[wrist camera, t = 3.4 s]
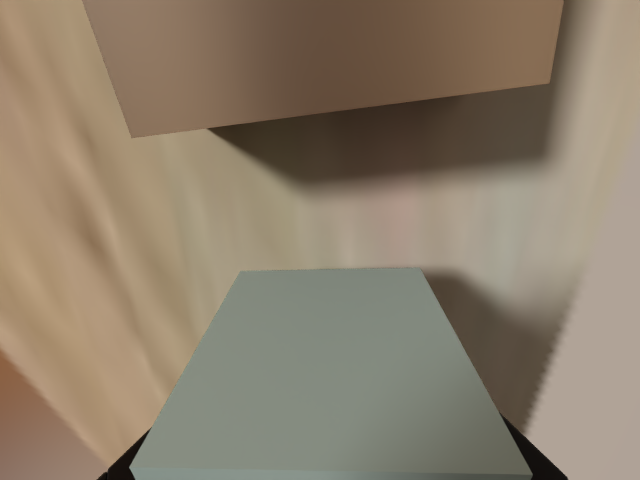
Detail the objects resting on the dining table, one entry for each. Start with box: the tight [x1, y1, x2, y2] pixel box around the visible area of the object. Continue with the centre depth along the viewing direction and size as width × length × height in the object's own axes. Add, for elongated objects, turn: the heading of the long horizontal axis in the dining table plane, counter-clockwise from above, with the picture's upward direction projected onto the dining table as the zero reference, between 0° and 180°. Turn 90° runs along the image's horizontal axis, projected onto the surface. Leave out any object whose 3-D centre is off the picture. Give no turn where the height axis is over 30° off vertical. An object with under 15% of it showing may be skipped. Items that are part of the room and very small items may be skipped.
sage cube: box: [129, 268, 533, 480], centre depth 7 cm, size 5×5×5 cm
